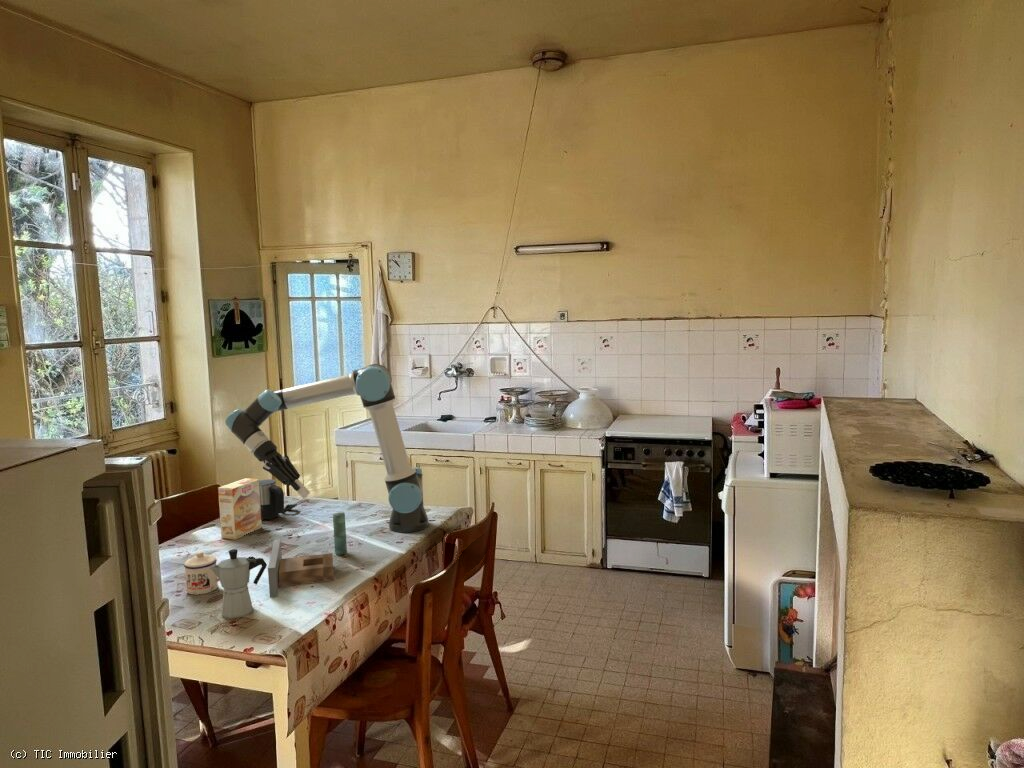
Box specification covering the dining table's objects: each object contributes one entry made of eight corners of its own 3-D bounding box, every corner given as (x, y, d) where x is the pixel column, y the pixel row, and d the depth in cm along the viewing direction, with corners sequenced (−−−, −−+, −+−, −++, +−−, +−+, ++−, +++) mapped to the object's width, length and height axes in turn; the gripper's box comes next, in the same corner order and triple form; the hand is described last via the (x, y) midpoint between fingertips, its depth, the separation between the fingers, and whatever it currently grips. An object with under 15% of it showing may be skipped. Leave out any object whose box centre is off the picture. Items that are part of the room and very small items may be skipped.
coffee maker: (212, 622, 186) (208, 559, 184) (212, 610, 194) (208, 548, 192) (270, 612, 192) (266, 550, 190) (268, 600, 200) (264, 540, 198)
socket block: (333, 566, 225) (332, 553, 224) (333, 580, 213) (332, 566, 213) (281, 572, 221) (281, 558, 220) (279, 586, 209) (278, 572, 209)
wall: (282, 565, 227) (280, 539, 226) (277, 596, 202) (275, 567, 201) (276, 566, 227) (274, 539, 226) (269, 597, 202) (267, 568, 201)
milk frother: (250, 520, 278) (247, 484, 277) (270, 508, 294) (268, 474, 292) (282, 521, 276) (280, 485, 274) (301, 509, 291) (299, 475, 289)
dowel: (346, 551, 239) (344, 512, 238) (347, 554, 236) (344, 515, 234) (334, 552, 238) (332, 513, 237) (335, 556, 235) (332, 516, 233)
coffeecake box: (236, 540, 254) (232, 488, 252) (220, 538, 256) (216, 487, 254) (262, 527, 268) (259, 478, 266) (247, 526, 271) (244, 477, 268)
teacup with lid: (181, 596, 204) (178, 558, 203) (192, 584, 213) (189, 548, 212) (222, 593, 206) (220, 556, 204) (232, 581, 215) (229, 545, 213)
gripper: (256, 443, 232) (303, 493, 230) (278, 436, 245) (322, 483, 243) (243, 458, 234) (290, 508, 232) (266, 450, 247) (310, 497, 245)
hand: (306, 495), depth 237 cm, fingers closed
